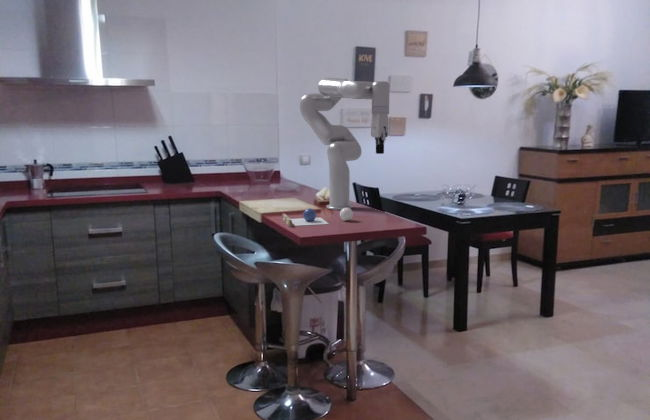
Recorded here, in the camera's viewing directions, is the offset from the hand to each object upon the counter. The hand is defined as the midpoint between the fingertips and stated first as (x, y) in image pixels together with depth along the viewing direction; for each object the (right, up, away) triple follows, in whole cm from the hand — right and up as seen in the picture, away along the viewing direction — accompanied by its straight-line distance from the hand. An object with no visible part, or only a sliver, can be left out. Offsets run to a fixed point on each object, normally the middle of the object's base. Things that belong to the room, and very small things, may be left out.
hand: (379, 153), depth 234 cm
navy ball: (-30, -27, -11) cm, 42 cm away
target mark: (-31, -30, -11) cm, 44 cm away
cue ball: (-15, -27, -10) cm, 32 cm away
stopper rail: (-40, -30, -13) cm, 51 cm away
